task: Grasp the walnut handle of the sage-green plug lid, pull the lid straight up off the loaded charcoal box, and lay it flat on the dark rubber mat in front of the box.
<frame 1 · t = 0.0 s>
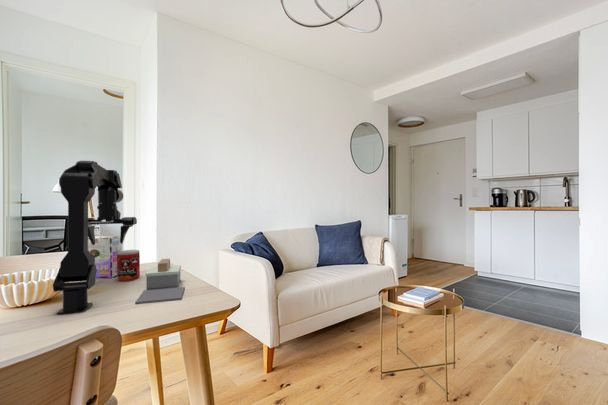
hand: (107, 244, 112), 15 cm above the table, fingers open, 9 cm apart
lid: (164, 274, 109), point 4 cm above the table, touching storage box
storage box: (164, 285, 109), on the table
mat: (161, 295, 97), on the table
candy box: (101, 276, 122), on the table
canned food: (128, 279, 118), on the table
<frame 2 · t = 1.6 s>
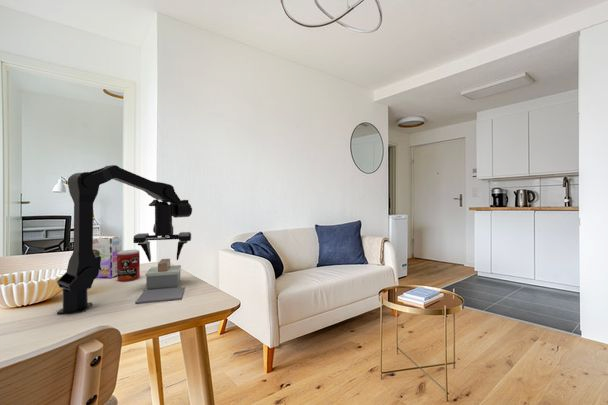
hand: (163, 260, 109), 9 cm above the table, fingers open, 9 cm apart
nothing on the table moved.
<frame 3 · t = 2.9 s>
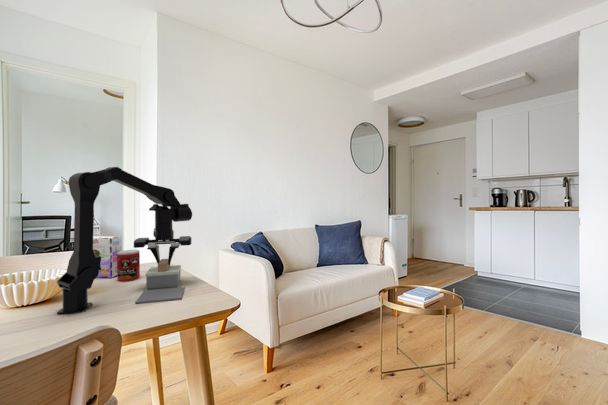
hand: (164, 265, 109), 8 cm above the table, fingers closed on lid, 3 cm apart
lid: (164, 274, 109), point 4 cm above the table, touching gripper, storage box
everything else where it was.
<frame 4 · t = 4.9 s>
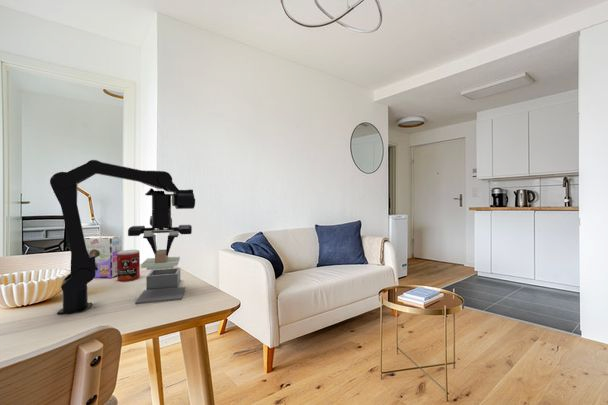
hand: (161, 255, 99), 13 cm above the table, fingers closed on lid, 3 cm apart
lid: (161, 266, 99), point 9 cm above the table, touching gripper
everything else where it was.
when the fingers open (6 cm above the table, at t = 7.1 s): lid drops 1 cm, resting on mat.
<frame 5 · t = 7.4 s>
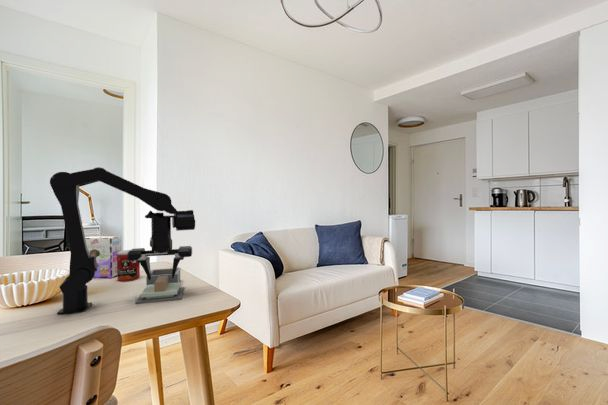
hand: (161, 278, 97), 6 cm above the table, fingers open, 7 cm apart
lid: (161, 293, 97), point 1 cm above the table, touching mat
everything else where it was.
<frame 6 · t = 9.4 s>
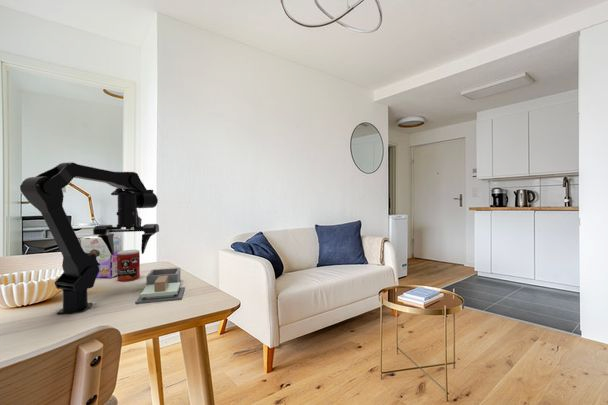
hand: (127, 254, 101), 13 cm above the table, fingers open, 9 cm apart
nothing on the table moved.
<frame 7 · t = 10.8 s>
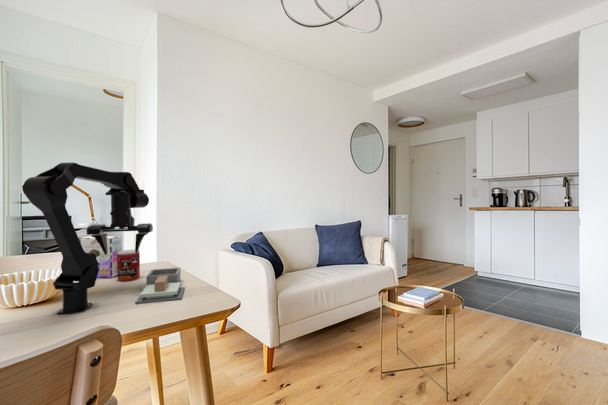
hand: (121, 253, 102), 13 cm above the table, fingers open, 9 cm apart
nothing on the table moved.
at the end: lid 0.0 cm off-centre on the mat, point 0.6 cm above the mat's base; lid tilted 0°; the gripper is holding nothing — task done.
